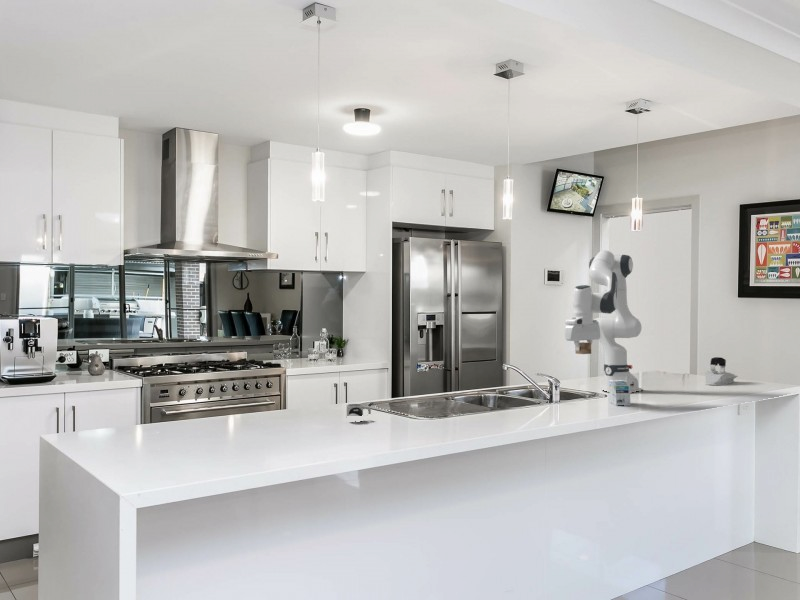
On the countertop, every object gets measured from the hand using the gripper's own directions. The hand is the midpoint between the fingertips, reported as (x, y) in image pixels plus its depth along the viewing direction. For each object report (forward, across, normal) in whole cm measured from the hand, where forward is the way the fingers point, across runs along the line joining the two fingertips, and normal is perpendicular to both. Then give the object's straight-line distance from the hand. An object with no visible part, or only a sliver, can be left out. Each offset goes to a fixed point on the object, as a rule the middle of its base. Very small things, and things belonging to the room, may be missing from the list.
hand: (583, 350), depth 321 cm
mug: (+25, +108, -22) cm, 113 cm away
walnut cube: (+2, 0, 0) cm, 2 cm away
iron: (+26, -119, -7) cm, 122 cm away
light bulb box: (+25, -12, +11) cm, 30 cm away
